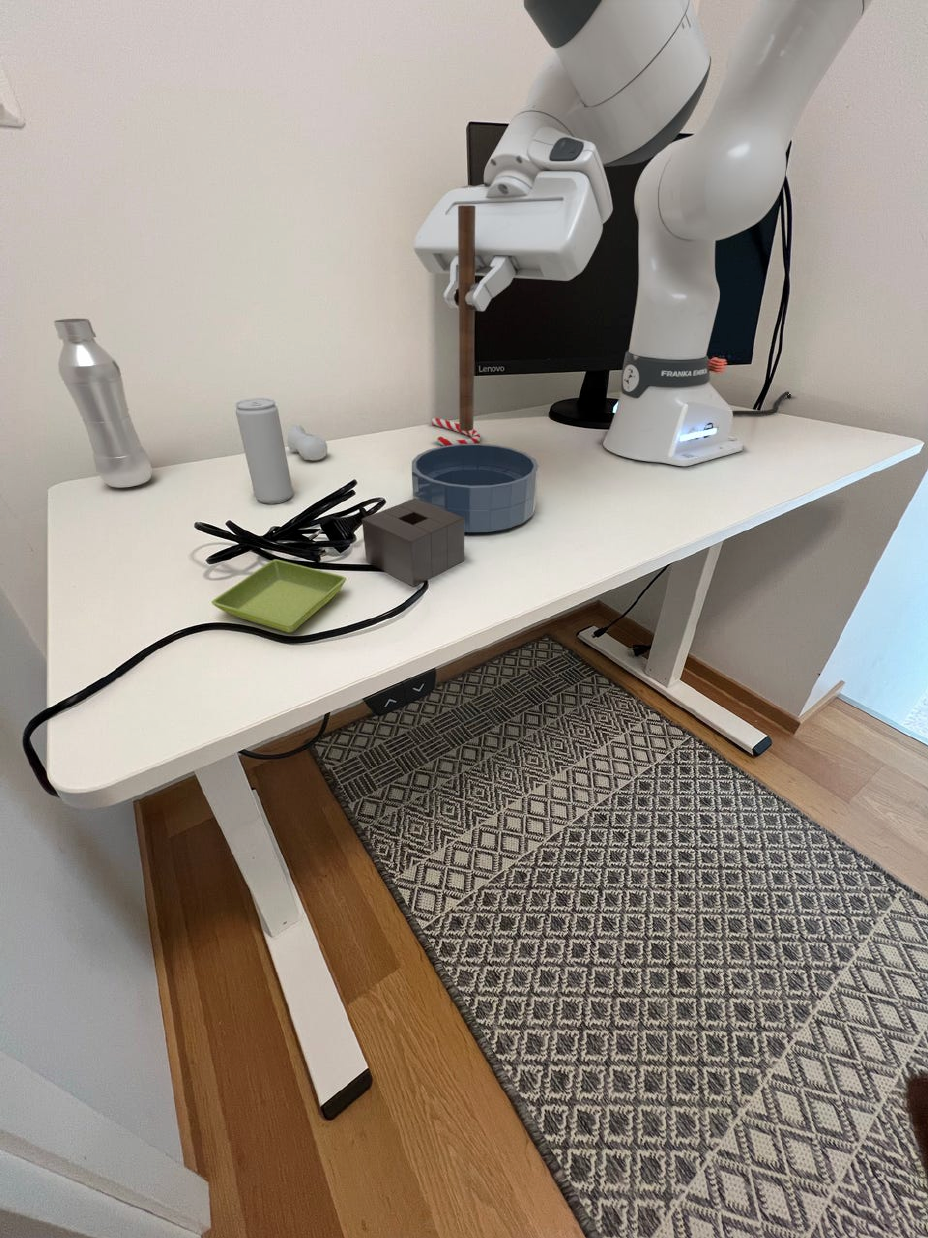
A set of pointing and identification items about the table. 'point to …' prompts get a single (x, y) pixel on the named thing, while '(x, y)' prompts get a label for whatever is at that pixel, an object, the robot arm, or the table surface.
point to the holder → (414, 540)
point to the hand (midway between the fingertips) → (462, 305)
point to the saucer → (280, 595)
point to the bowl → (478, 484)
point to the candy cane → (455, 427)
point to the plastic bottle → (101, 405)
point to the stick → (466, 314)
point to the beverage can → (264, 449)
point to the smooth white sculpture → (306, 444)
